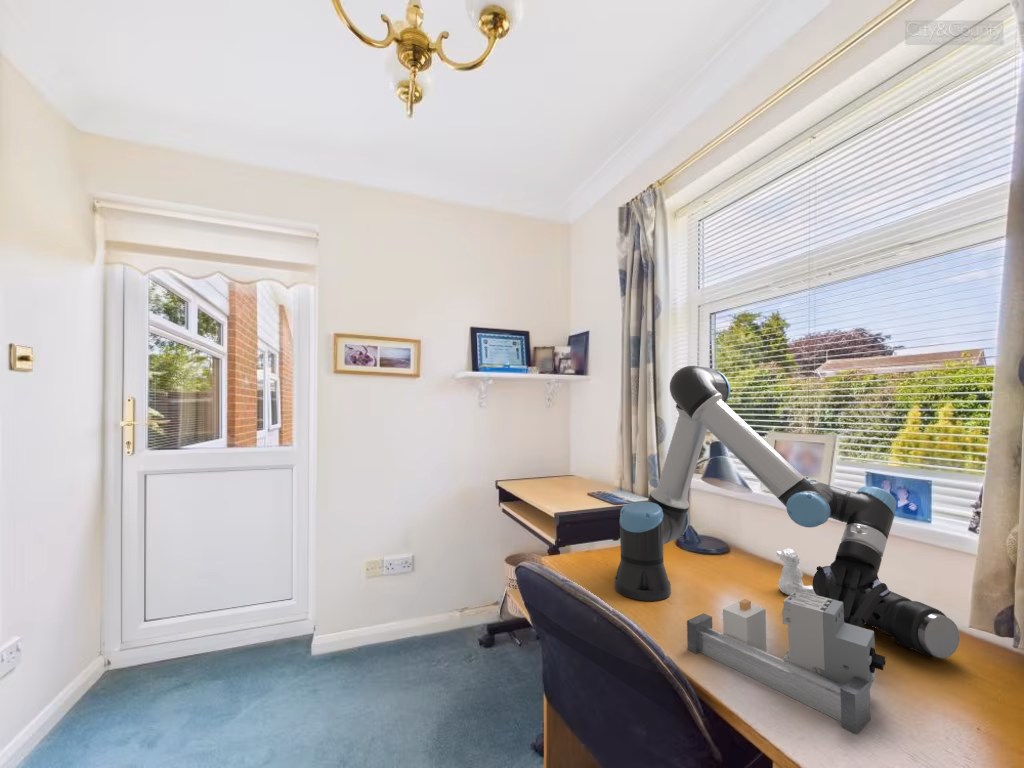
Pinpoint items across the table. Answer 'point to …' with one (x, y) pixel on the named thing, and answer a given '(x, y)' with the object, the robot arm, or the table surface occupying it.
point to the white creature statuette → (792, 574)
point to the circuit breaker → (828, 640)
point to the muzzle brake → (908, 622)
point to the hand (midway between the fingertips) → (829, 650)
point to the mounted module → (746, 623)
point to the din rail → (784, 675)
